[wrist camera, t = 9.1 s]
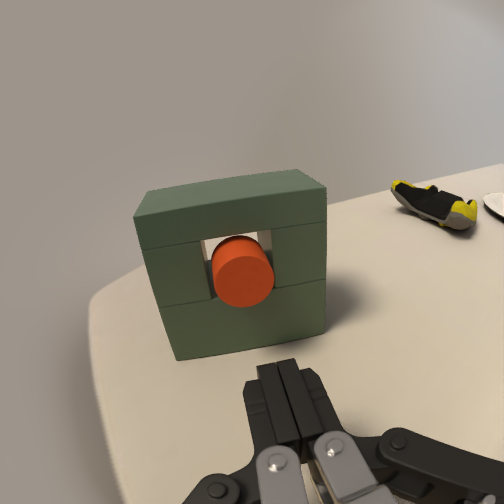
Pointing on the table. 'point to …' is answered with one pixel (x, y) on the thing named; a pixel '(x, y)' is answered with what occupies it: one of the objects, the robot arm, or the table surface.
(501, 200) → the plate
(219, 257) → the push knob
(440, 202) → the toy running shoe
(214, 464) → the table surface
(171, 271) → the block
